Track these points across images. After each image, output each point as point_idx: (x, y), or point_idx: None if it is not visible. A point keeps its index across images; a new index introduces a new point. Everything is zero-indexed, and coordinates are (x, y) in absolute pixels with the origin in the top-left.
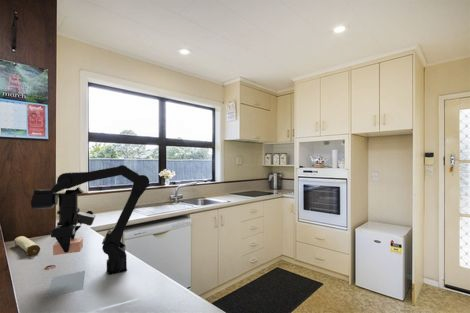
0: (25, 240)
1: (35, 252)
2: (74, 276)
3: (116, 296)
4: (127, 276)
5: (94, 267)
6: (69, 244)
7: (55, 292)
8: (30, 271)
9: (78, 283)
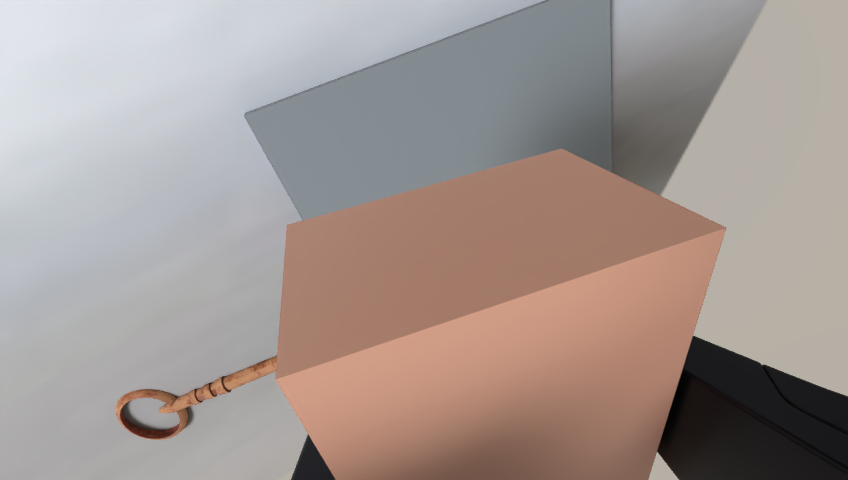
0: None
1: None
2: (364, 155)
3: None
4: None
5: (118, 52)
6: (720, 353)
7: None
8: (223, 463)
9: (502, 61)
